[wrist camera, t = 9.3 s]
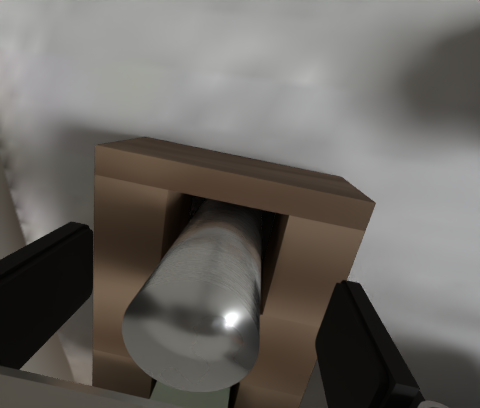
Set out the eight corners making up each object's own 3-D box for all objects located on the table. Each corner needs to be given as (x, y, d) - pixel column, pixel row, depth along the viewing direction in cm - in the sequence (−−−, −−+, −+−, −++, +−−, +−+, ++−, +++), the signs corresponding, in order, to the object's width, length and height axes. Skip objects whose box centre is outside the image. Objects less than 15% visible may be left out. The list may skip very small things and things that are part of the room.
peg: (205, 181, 16) (125, 266, 7) (268, 194, 16) (274, 299, 7) (196, 238, 18) (119, 375, 8) (255, 250, 18) (244, 404, 8)
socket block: (145, 136, 16) (95, 144, 11) (342, 177, 16) (375, 203, 11) (129, 358, 22) (91, 425, 17) (273, 390, 21) (275, 468, 17)
